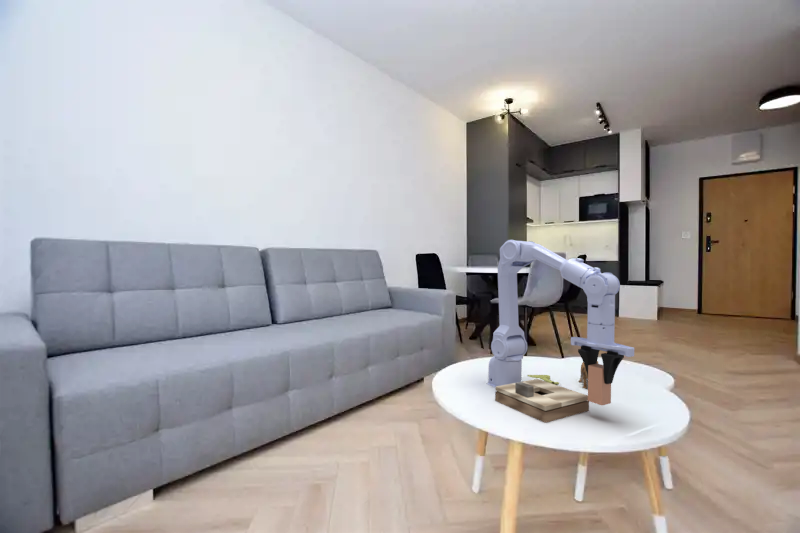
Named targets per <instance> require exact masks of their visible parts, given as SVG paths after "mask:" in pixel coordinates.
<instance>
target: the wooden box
mask: <svg viewBox="0 0 800 533" xmlns="http://www.w3.org/2000/svg"><path fill="white" fill-rule="evenodd" d="M494 393H495V395H494V397H495V398H494V401H495V402H498V403H500V404H501V405H504V406H506V407H508V408H510V409H512V410H515V411H517V412H520V413H522V414H525V415H526V416H529V417H531V418H533V419H535V420H538V421H540V422H542V423H544V424H545V423H551V422H554V421H557V420H562V419H566V418H568V417H569V418H570V417H572V416H575V415H580V414H583V413H586V412H589V411H590V401H588V400H587V401H583V402H579V403H575V404H571V405H567V406H563V407H559V408H555V409H551V410H547V411H544V410H542V409H539V408H537V407H535V406H532V405H530V404H527V403H525V402H522V401H520V400H518V399H515V398H513V397H510V396H508V395H505V394H503V393H501V392H498V391H496V390H495V392H494ZM534 393H537V394H540V395H546V394H547V393H544V392H541V391H537V392H534Z"/></svg>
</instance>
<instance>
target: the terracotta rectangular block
mask: <svg viewBox="0 0 800 533" xmlns="http://www.w3.org/2000/svg"><path fill="white" fill-rule="evenodd" d="M587 395H588V400H587V401H589V403H592V404H593V403H594V404H596V405H599V406H602V407H603V406H605V405H609V404H611V403H612V383H611V384H605V383H604V366H603V364H602V363H601V364H600V363H598V364H592V365H588V380H587Z"/></svg>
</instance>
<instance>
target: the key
mask: <svg viewBox="0 0 800 533" xmlns="http://www.w3.org/2000/svg"><path fill="white" fill-rule="evenodd" d="M527 377H529V378H532V379H533V378H534V379H539V380H542V381H545V382H548V383H551V384H554V385H560V382H559V381H554V380H552V379H551V375H549V374H528V375H527Z"/></svg>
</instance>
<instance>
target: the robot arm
mask: <svg viewBox="0 0 800 533" xmlns="http://www.w3.org/2000/svg"><path fill="white" fill-rule="evenodd" d="M536 260H537V261H539V262H540V263H542V264H545V265H547V266H549V267H551V268H553V269H555V270H558V271H559V272H560V276H561V278H562V279H564V280H566V281H568V282H569V283H571V284H573V285H574V286H577V287H578V288H581V290H582V289H583V292H584V294H585V295H586V297H587V298H586V299H587V318H586V320H587V323H586V324H587V326H586V328H587V329H586V337H580V336H579V337H578V336H571V337H570V345H571V346H577V347H580V348H578V350H577V352H578V354H579V356H580V358H581V360H582V363H583V362H584V365H585V368H586V371H587V376H588V365H592V364H597V361H598V359H599V355H600V356H601V361H602V365H603V366H604V383H605V384H611V385H612V384H613V381H614V379H615V375H616V371H617V370H618V367H619V366H620V364H621V362H622V361H623V359H624V358H625V357H627V358H631V357H632V358H633V357H635V347H634V346H633V347H632V346H628V345H625V344H621V343H618V342H615V331H616V330H615V329H616V328H615V326H616V324H615V322H616V321H615V320H616V316H615V315H616V294H617V293H619V290H620V288H621V284H620V280H619V278H618V277H617V276H616V275H614V274H613V273H612V272H603V273H602V271H601V268H600V267H598V266H597V267H595V266H594V267H593V266H591V265H589V264H586V263H584V261H585V260H584V259H583V258H578V257H577V258H575V257H573V258H570V259H566V258H565V257H562V256H560V255H559V254H558V253H556V252H554V251H552V250H551V249H548V248H547V247H545V246H543V245H542V244H539V243H536V242H535V241H532V240H531V241H530V240H529V241H524V240H514V239H507V240H506V241H505V242H504V243H503V244H502V245H501V246H500V247H499V261H498V264H497V265H498V266H497V288H498V290H497V292H498V314H499V315H498V318H499V319H498V322H499V326H498V327H497V328H496V329H495V330H494V332H493V333H492V334H493V336H492V341H491V344H490V350H491V353H492V355H493V356H492V357H491V358H490V359H489V362H488V378H487V379H488V380H487V383H486V385H488V386H491V387H493V388H495V387H496V386H501V385H507V384H512V383H517V382H522V371H523V370H522V366H523V365H522V363H523V361H522V360H523V359H524V355H525V354H526V353H527V352H528V342H527V340H526V336H525V331H524V330H523V329H522V328H521V327H520V325H519V302H518V299H519V297H518V296H519V294H518V273H519V272H520V271H521V270H522V269H523V268H524V267H526V266H528V265H530V264H532V263H534V262H535V261H536ZM600 351H603V353H600Z"/></svg>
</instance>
